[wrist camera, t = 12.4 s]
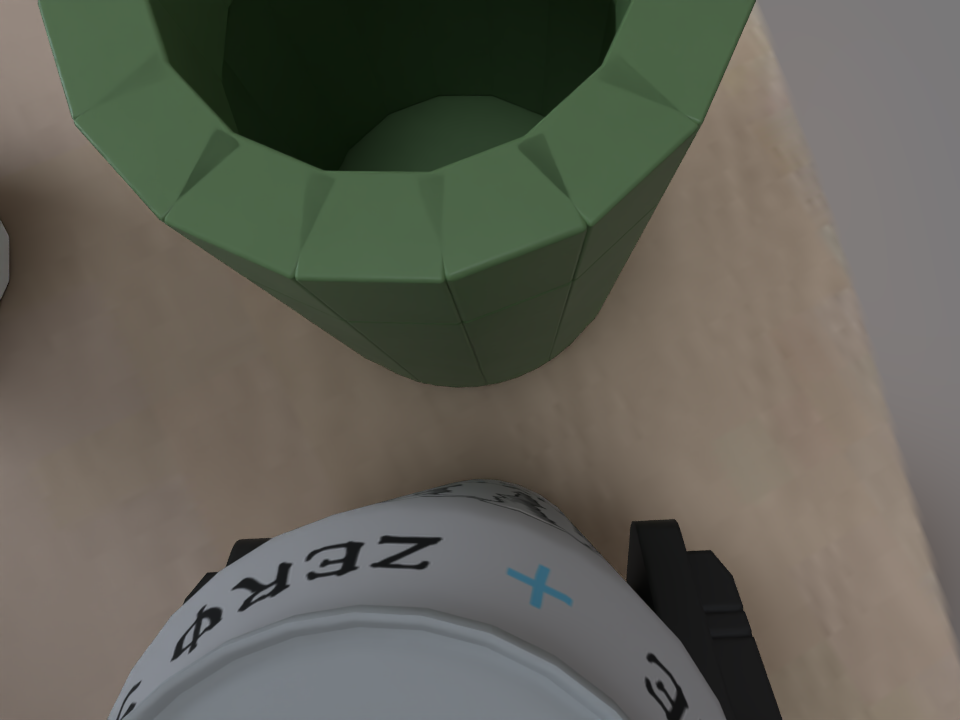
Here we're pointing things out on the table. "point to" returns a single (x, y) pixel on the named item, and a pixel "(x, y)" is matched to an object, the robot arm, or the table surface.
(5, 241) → the foam cup
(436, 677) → the energy drink can
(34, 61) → the table surface
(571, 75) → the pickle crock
